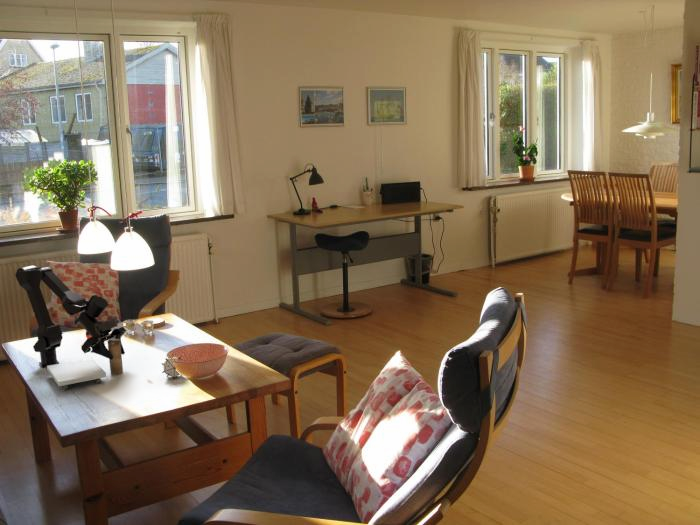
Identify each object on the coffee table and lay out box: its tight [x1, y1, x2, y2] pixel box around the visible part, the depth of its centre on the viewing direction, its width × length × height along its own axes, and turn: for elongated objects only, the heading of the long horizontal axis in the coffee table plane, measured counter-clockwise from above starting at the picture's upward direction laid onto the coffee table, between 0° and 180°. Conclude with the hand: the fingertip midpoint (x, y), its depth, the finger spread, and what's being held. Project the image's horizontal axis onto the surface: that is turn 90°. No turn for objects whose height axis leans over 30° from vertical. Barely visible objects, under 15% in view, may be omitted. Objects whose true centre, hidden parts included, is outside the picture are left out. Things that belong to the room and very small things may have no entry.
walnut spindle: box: [107, 339, 124, 376], centre depth 264 cm, size 4×4×12 cm
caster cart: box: [46, 357, 107, 391], centre depth 258 cm, size 22×16×4 cm
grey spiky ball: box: [161, 353, 182, 380], centre depth 257 cm, size 9×8×10 cm
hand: (118, 356), depth 263 cm, fingers open, 6 cm apart
